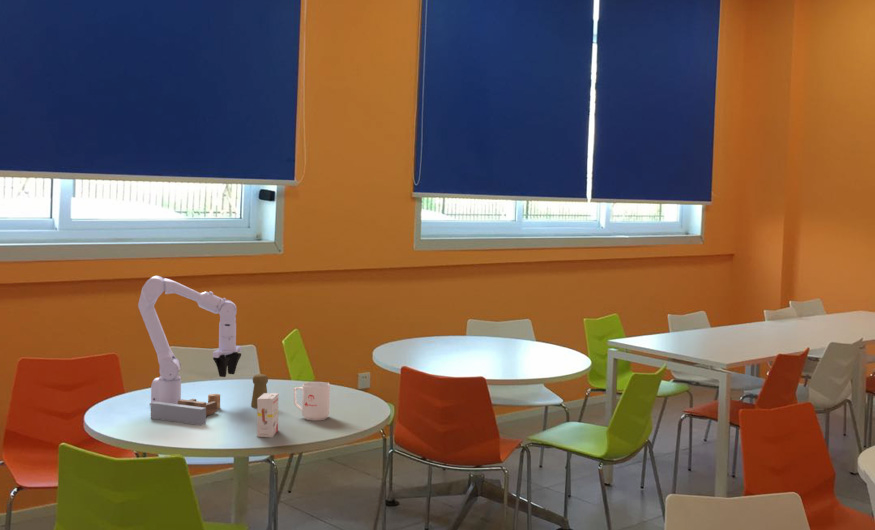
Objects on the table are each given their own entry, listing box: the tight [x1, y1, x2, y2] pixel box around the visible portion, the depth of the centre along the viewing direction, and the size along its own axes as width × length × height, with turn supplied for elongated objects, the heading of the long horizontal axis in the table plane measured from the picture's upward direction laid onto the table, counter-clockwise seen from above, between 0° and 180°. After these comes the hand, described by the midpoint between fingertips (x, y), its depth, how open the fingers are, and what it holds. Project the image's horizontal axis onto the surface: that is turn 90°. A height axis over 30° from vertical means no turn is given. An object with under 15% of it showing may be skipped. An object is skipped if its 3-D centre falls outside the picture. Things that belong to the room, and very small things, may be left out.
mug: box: [293, 381, 331, 422], centre depth 294 cm, size 12×9×11 cm
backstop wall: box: [150, 401, 207, 426], centre depth 285 cm, size 19×2×5 cm, turn 70°
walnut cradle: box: [178, 398, 218, 417], centre depth 294 cm, size 10×8×4 cm
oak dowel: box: [207, 393, 221, 410], centre depth 303 cm, size 4×4×4 cm
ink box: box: [256, 392, 279, 438], centre depth 273 cm, size 9×5×12 cm, turn 177°
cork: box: [250, 373, 269, 409], centre depth 308 cm, size 6×6×11 cm
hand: (227, 375), depth 310 cm, fingers open, 5 cm apart
